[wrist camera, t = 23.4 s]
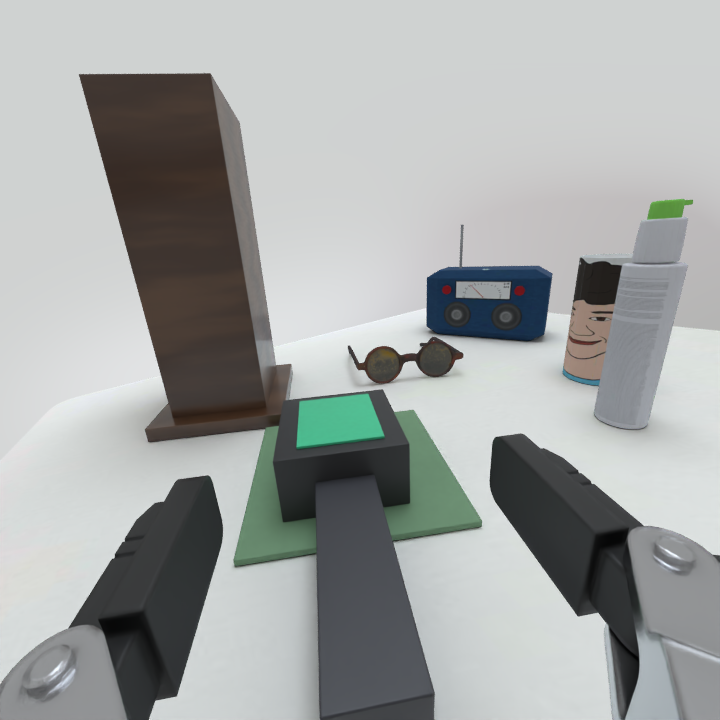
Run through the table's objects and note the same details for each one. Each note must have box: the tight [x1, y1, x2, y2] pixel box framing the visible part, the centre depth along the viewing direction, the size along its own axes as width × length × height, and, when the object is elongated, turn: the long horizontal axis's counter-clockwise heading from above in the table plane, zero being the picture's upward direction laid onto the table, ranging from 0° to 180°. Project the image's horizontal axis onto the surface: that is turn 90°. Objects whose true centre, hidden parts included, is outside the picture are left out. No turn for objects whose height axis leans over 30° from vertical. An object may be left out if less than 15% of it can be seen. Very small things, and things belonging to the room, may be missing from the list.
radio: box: [427, 225, 552, 341], centre depth 63 cm, size 21×9×20 cm, turn 61°
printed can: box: [563, 254, 633, 386], centre depth 42 cm, size 7×7×15 cm
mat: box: [234, 410, 482, 566], centre depth 29 cm, size 16×16×1 cm
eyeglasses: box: [348, 337, 463, 383], centre depth 52 cm, size 15×15×5 cm
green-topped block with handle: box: [273, 390, 435, 720], centre depth 21 cm, size 21×9×5 cm, turn 8°
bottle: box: [594, 199, 693, 429], centre depth 31 cm, size 4×4×20 cm
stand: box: [79, 73, 293, 442], centre depth 38 cm, size 16×14×32 cm
